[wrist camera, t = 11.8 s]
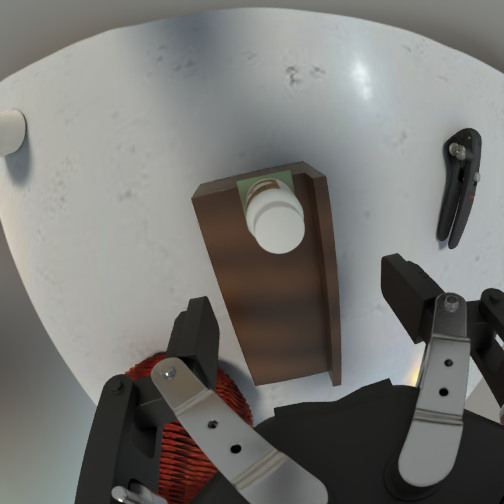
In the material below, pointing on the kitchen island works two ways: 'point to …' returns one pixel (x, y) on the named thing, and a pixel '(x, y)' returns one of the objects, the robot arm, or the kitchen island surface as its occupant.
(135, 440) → the robot arm
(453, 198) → the can opener
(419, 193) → the kitchen island surface
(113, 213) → the kitchen island surface
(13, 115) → the can
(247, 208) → the pill bottle
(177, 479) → the vase
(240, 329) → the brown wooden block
